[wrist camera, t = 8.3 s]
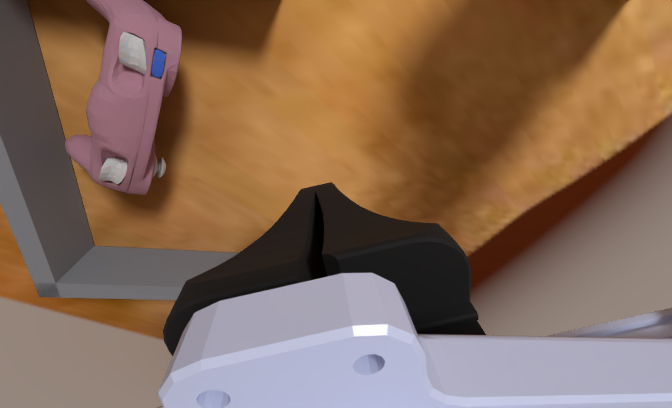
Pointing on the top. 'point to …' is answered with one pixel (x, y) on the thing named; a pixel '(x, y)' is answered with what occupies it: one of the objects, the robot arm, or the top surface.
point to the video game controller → (128, 97)
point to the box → (65, 191)
